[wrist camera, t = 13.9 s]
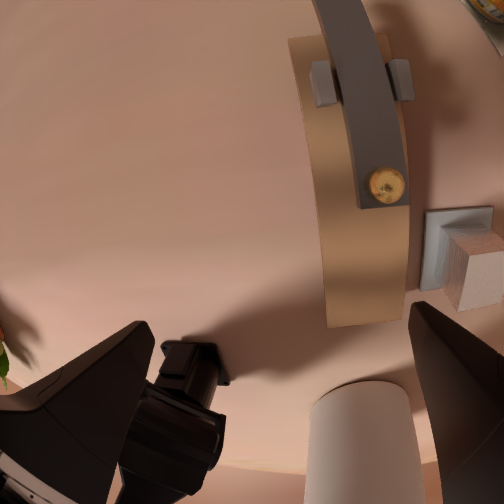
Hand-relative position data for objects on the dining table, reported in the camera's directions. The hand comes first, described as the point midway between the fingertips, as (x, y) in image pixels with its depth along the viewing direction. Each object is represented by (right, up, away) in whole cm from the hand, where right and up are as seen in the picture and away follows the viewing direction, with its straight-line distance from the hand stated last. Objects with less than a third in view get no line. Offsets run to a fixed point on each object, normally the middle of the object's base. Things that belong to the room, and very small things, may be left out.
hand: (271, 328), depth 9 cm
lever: (+4, +10, +2) cm, 11 cm away
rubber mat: (+16, +3, +11) cm, 20 cm away
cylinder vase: (+13, -17, +21) cm, 30 cm away
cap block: (+16, +3, +10) cm, 19 cm away
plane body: (+7, +7, +10) cm, 14 cm away
